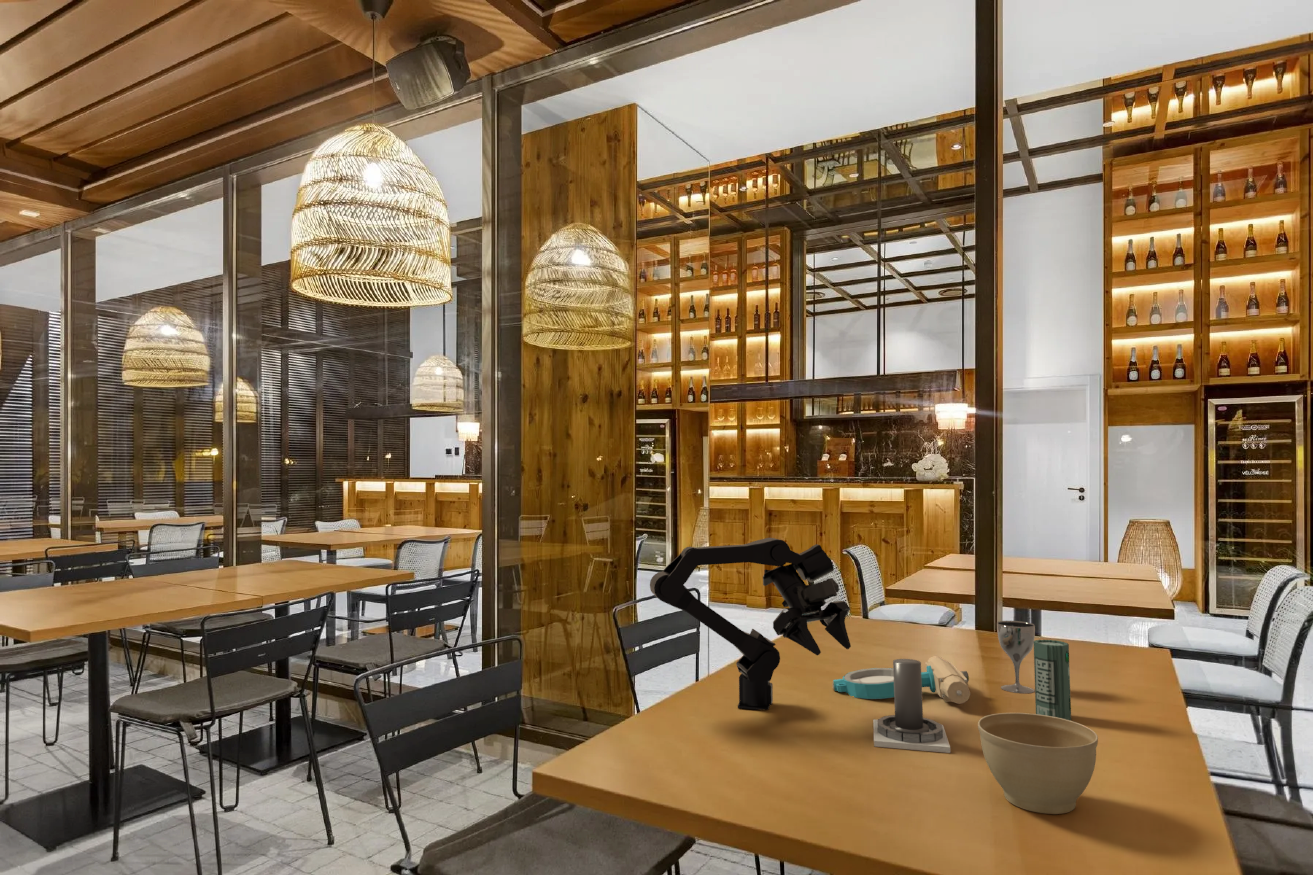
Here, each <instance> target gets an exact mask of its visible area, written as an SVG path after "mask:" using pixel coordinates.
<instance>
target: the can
mask: <svg viewBox="0 0 1313 875" xmlns="http://www.w3.org/2000/svg"><path fill="white" fill-rule="evenodd" d="M1069 645H1070V644H1069V643H1067V642H1065V641H1061V640H1056V639H1037V640H1036V639H1034V644H1033V663H1034V665H1033V666H1034V667H1033V668H1034V687H1035V688H1034V690H1035V692H1034V695H1035V696H1034V697H1035V714H1038V715H1046V716H1052V717H1057V718H1062V719H1066V720H1070V721H1072V705H1071V703H1072V699H1071V675H1070V674H1071V672H1070V646H1069Z"/></svg>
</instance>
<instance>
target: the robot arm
mask: <svg viewBox="0 0 1313 875" xmlns="http://www.w3.org/2000/svg"><path fill="white" fill-rule="evenodd" d="M739 563H740V564H743V563H745V564H746V563H751V564H759V565H764V566H772V567H773V566H774V567H775V568H773V569H764V572H763V576H762V585H763V586H764V587H766V586H768V585H770V584H772V583H773V585H774V586H775V588H776V589H777V591H778V592H779V593H778V594H780V595H781V597H782V599H783V601H781V605H782V606H783V609H782V610H781V612H780V613H779V614H778V615H777V616H776V618H775V619H774V620H773V622H772V629H773V630H774V632H775V633H776V635H777V636H782V637H783V638H786V639H789V640H790V641H792V642H794V643H795V644H798V645H799V646H801V647H803V648H805V649H806V650H807V651H809V652H811V653H812V654H814V655H815V656H820V655H821V653H822V651H821V649H820V647H819V645H818V643H817V641H816V640H815V638H814V636H813V635H812V633H811V631H810V629H809V628H808V623H810V622H817V621H819V622H820V623H821V625H823V626H824V627H825V628H824V631H826V632H827V633H828V634H829V635H830V636H831V637H833V639H834V640H836V641H837V643H838V644H840V645H841V646H842V647H844V648H845V649H846V650H849V649H850V648H851V647H852V646H851V642H850V638H849V634H848V632H847V631H848V630H847V628H846V617H847V616H848V615H849V612H850V611H851V608H850V606H849V604H848V603H847V602H846V601H844V600H834V601H830V602H829V603H828V604H827V602H826V600H828V599H830V598H834V597H837V596H838V593H839V591H840V585H839V584H838V583H837V582H836V580H835V579H834V578H833V577H832V578H827V579H826V580H825V579H824V580H822V581H819V582H815V581H817V580H819V579H821V578H824V576H828V575H829V574H831V573H833V572H834V571H835V569H834V564H833V562H832V559H831V557H829V555H828V554H827V552H825V551H824V549H823V548H822V546H821V545H820V544H818V543H817V544H814V545H812V546H810V547H809V548H808V549H806V550H804V551H801V552H800V553H798V552H795V551H794V550H791V548H790V546H789V544H788V542H786V541H785V540H782V539H779V538H774V537H765V538H761V539H757V540H754V541H751V542H748V543H745V544H733V545H732V544H731V545H715V546H695V547H694V546H686V547H685V548H683V549H682V551H681V552H680V553H679V555H678V556H677V557H676V558H674V559H673V560H672V561H671V562H670V563H669V564H667V566H665V567H664V569H663V570H662V571H659V572H656V573H655V574H654V575H653V576H652V577H651V579H650V580H649V581H650V582H649V588H650V592H651V593H652V594H653V595H654V596H655V597H656V598H657V599H658V600H659V601H661V602H663V603H665V604H667V605H669V606H672V607H674V608H676V609H678V610H680V611H684V612H685V613H688V614H689V615H690V616H692V617H693V618H695V620H697V621H699V622H700V623H702V624H703V625H704V626H706V627H707V628H709V629H710V630H712V631H713V632H714V633H715V634H717V635H719V636H721V638H723V639H724V640H726V641H727V642H729V644H731V645H733V646H734V647H735V648H736V650H738V651H739V653H740V654H742V656H741V657H740V658H739V659H738V660H737V661H736V663H735V665H736V669H737V670H738V672H739V676H738V691H739V692H738V700H739V701H738V704H737V708H738V709H748V710H758V711H760V710H761V711H768V710H769V709H770V707H771V706H772V705H773V702H774V700H773V699H774V698H773V683H772V682H770V681H771V680H772V678H773V675H774V673H775V670H776V669H777V668H778V667H779V665H780V661H781V655H780V651H779V650H778V649H777V648H776V647H775V646H777V645H776V643H775V642H773V641H772V640H770V639H769V638H767V637H765V636H764V635H762V633H760V632H758V631H757V630H755V629H754V628H751V631H750V633H748V632H746V631H744V630H742V629H740V628H739V627H738V626H736V625H735V624H733V623H732V622H730V621H729V620H728V619H726V618H725V617H723V616H722V615H721V614H719V613H718V612H716V611H715V610H713V609H712V608H711V607H710V606H708V605H706V604H705V603H704V602H702V601H701V600H699V599H698V598H697V597H695V596H694V595H693V594H692V592H691V591H690V590H689V589H688V588H687V587H686V586H685V584H686V583H687V582H688V581H689V579H690V577H691V575H692V574H693V572H694V571H695V570H696V568H697V567H698V566H708V565H709V566H710V565H712V566H713V565H724V564H739ZM786 564H787V565H786ZM806 580H807V581H808V582H809V583H813V582H815V583H813V584H806V583H805V582H804V581H806ZM826 604H827V605H826ZM825 605H826V607H825V608H824V609H822V607H824V606H825ZM786 607H787V608H786Z"/></svg>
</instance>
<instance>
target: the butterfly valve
mask: <svg viewBox="0 0 1313 875" xmlns="http://www.w3.org/2000/svg"><path fill="white" fill-rule="evenodd" d="M924 663H925V670H926V671H921V679H922V688H929V690H930V692H931V693H934V694H935V693H936V694H937V695H938V696H939V697H940V698H941V699H943V701H944V702H945V703H948V702H949V703H950V702H952V703H956V704H959V705H960V704H965V703H967V701H968V700H969V699H970V696H971V692H970V691H971V690H970V689H969V681H970V677H969V672H968V671H967V670H961V671H960V670H959V668H957V666H955V664H954V663H953V662H951V661H950V662H949V661H947V660H946V659H944V658H942V657H941V656H938V655H934V656H931V657H929V658H928V659H927V661H925V662H924ZM831 684H832V690H834V692H835V691H838V692H837V693H845V692H846V693H845V694H847V693H848V694H849V695H850V697H852V696H854V697H853V698H855V699H857V698H858V699H865V700H866V699H867V700H882V699H891V698H894V673H893V667H892V668H891V667H873V668H861V669H857V670H853V671H849V672H847V673H846V674H844V675H843V676H842V678H838V679H833V680H832V682H831ZM848 694H847V695H848ZM849 695H848V696H849Z"/></svg>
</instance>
